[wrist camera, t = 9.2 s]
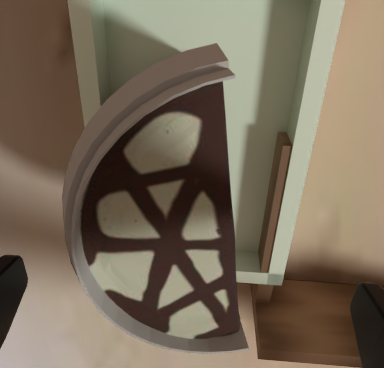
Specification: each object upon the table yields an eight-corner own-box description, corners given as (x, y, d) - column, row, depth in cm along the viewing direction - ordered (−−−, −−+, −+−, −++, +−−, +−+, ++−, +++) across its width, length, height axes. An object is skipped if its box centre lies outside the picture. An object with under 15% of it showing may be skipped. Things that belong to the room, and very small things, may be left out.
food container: (58, 40, 17) (-20, 90, 8) (182, 22, 17) (234, 52, 9) (114, 239, 23) (104, 388, 14) (205, 222, 23) (249, 357, 15)
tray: (334, -32, 16) (352, -34, 14) (276, 258, 25) (281, 285, 23) (82, -40, 17) (61, -43, 15) (113, 247, 26) (103, 272, 24)
